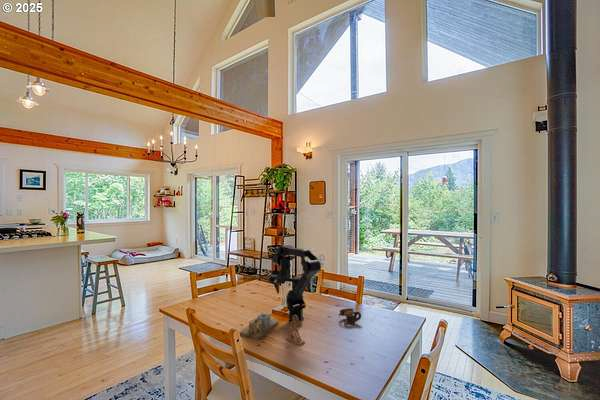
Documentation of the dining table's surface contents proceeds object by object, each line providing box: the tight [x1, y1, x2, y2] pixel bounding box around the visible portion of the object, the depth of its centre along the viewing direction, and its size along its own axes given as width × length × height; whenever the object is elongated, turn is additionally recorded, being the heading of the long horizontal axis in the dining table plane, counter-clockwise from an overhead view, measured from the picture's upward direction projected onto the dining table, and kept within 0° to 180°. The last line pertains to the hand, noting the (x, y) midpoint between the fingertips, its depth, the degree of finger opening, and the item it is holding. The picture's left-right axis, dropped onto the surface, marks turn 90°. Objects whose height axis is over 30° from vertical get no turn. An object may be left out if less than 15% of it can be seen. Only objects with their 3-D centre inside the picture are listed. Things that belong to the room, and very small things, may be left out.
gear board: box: [239, 318, 279, 341], centre depth 143 cm, size 12×18×6 cm, turn 160°
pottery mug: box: [338, 308, 362, 326], centre depth 152 cm, size 12×10×8 cm
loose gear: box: [256, 313, 271, 326], centre depth 146 cm, size 7×7×4 cm
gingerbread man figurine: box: [285, 315, 306, 347], centre depth 131 cm, size 9×4×12 cm, turn 45°
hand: (285, 294), depth 163 cm, fingers open, 9 cm apart
